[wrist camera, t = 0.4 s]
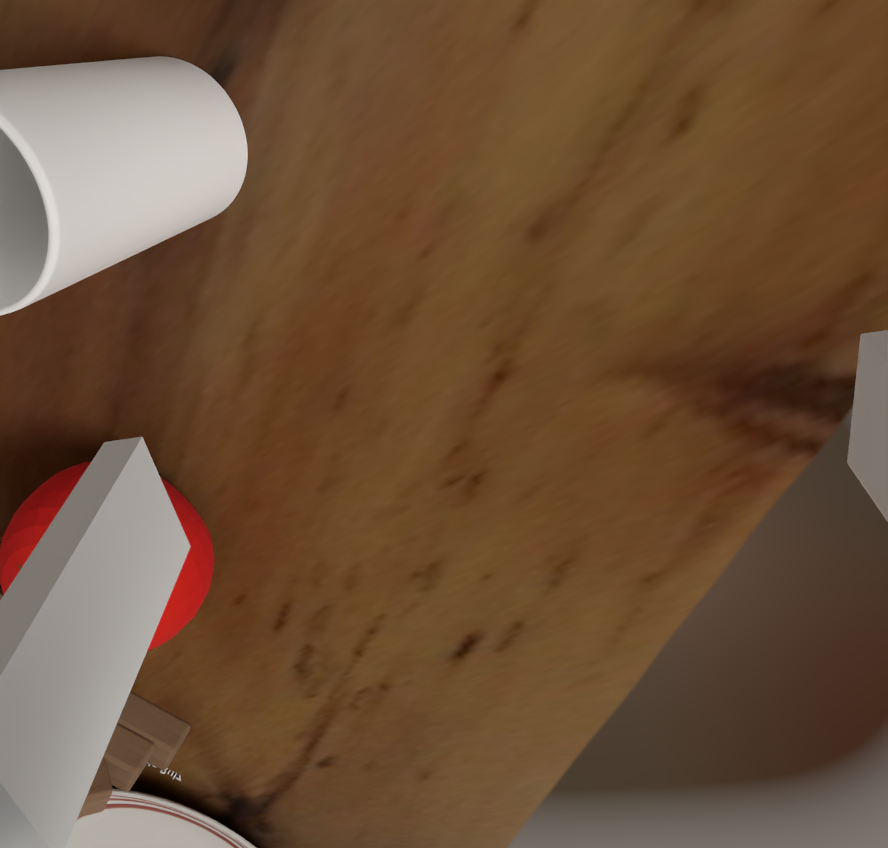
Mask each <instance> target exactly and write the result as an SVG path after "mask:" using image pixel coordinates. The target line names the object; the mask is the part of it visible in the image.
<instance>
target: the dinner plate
mask: <svg viewBox="0 0 888 848" xmlns="http://www.w3.org/2000/svg"><path fill="white" fill-rule="evenodd" d="M65 848H256V847H255V846H254V845H252V844H251V843H250V842H248V841H247V840H246V839H244V838H243V837H241V836H240V835H238V834H237V833H235V832H234V831H232V830H231V829H229V828H228V827H226V826H224V825H223V824H221V823H219V822H218V821H216V820H214V819H212V818H210V817H208V816H206V815H204V814H202V813H200V812H198V811H196V810H194V809H192V808H189V807H187V806H184V805H182V804H179V803H176V802H174V801H171V800H168V799H165V798H161V797H158V796H154V795H150V794H146V793H142V792H137V791H131V790H129V791H127V792H124V791H123V790H121V789H114V788H113V792H112V794H111V796H110V798H109V800H108V802H107V804H106V806H105V809H104V810H103V811H102V812H99V813H95V814H91V815H87V816H83V817H80V818H77V820H76V823H75V825H74V828H73V830H72V832H71V835H70V837H69V840H68V842H67V844H66V847H65Z"/></svg>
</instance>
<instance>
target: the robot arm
mask: <svg viewBox="0 0 888 848" xmlns="http://www.w3.org/2000/svg"><path fill="white" fill-rule="evenodd" d="M851 423H852V424H851V432H850V442H849V452H848V461H847V463H848V465H849V466H850V468H851V469H852V471H853V472H854V473H855V475H856V476H857V478H858V479H859V481H860V482H861V484H862V485H863V487H864V488H865V490H866V491H867V493H868V494H869V495H870V497H871V498H872V500H873V501H874V503H875V504H876V505H877V507H878V508H879V510H880V511H881V513H882V514H883V516H884V517H885V519H886V520H887V522H888V330H886V331H879V332H872V333H865V334H861V336H860V346H859V355H858V365H857V374H856V384H855V394H854V403H853V413H852V422H851ZM190 547H191V546H190V544H189V541H188V539H187V537H186V535H185V532H184V530H183V528H182V526H181V523H180V521H179V519H178V517H177V514H176V512H175V510H174V507H173V505H172V503H171V501H170V498H169V496H168V494H167V492H166V489H165V487H164V485H163V483H162V480H161V478H160V476H159V474H158V471H157V469H156V467H155V464H154V462H153V460H152V458H151V455H150V453H149V451H148V449H147V446H146V444H145V442H144V440H143V437H137V438H130V439H123V440H116V441H109V442H104V443H103V445H102V446H101V448H100V449H99V451H98V453H97V454H96V456H95V457H94V459H93V460H92V462H91V463H90V465H89V466H88V468H87V469H86V471H85V472H84V474H83V475H82V477H81V478H80V480H79V481H78V483H77V484H76V486H75V488H74V489H73V491H72V492H71V494H70V495H69V497H68V498H67V500H66V501H65V503H64V504H63V506H62V507H61V509H60V510H59V512H58V513H57V515H56V516H55V518H54V520H53V521H52V523H51V524H50V526H49V527H48V529H47V530H46V532H45V533H44V535H43V536H42V538H41V539H40V541H39V542H38V544H37V545H36V547H35V548H34V550H33V551H32V553H31V555H30V556H29V558H28V559H27V561H26V562H25V564H24V565H23V567H22V568H21V570H20V571H19V573H18V574H17V576H16V577H15V579H14V580H13V582H12V583H11V585H10V587H9V588H8V590H7V591H6V593H5V594H4V596H3V597H2V599H1V600H0V848H65V847H66V844H67V842H68V840H69V837H70V835H71V832H72V830H73V828H74V825H75V823H76V820H77V818H78V816H79V813H80V811H81V808H82V806H83V804H84V801H85V799H86V796H87V794H88V792H89V789H90V787H91V784H92V782H93V780H94V777H95V775H96V772H97V770H98V768H99V765H100V763H101V761H102V758H103V756H104V753H105V751H106V749H107V746H108V744H109V741H110V739H111V737H112V734H113V732H114V729H115V727H116V725H117V722H118V720H119V717H120V715H121V713H122V710H123V708H124V705H125V703H126V701H127V698H128V696H129V693H130V691H131V689H132V686H133V684H134V681H135V679H136V677H137V674H138V672H139V669H140V667H141V665H142V662H143V660H144V657H145V655H146V653H147V650H148V648H149V645H150V643H151V641H152V638H153V636H154V633H155V631H156V629H157V626H158V624H159V621H160V619H161V617H162V614H163V612H164V609H165V607H166V605H167V602H168V600H169V597H170V595H171V593H172V590H173V588H174V585H175V583H176V581H177V578H178V576H179V573H180V571H181V569H182V566H183V564H184V562H185V559H186V557H187V554H188V552H189V550H190Z"/></svg>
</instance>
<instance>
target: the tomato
mask: <svg viewBox="0 0 888 848" xmlns="http://www.w3.org/2000/svg"><path fill="white" fill-rule="evenodd" d="M90 463H91V462H84V463H81V464H78V465H75V466H72V467H69V468H67V469H65V470H63V471H61V472H58V473H56V474H55V475H54V476H52V477H51V478H49V479H48V480H47V481H45V482H44V483H43V484H42V485H41V486H39V487H38V488H37V489H36V490H35V491H34V492H33V493H32V494H31V495H30V496H29V497H28V498H27V499H26V500H25V501H24V502H23V503H22V505H21V506H20V507H19V508H18V510H17V511H16V512H15V513H14V515H13V517H12V519H11V521H10V523H9V525H8V527H7V529H6V532H5V534H4V536H3V538H2V541H1V547H0V584H1V588H2V591H3V594H5V593H6V591H7V590H8V588H9V587H10V585H11V583H12V582H13V580H14V579H15V577H16V576H17V574H18V573H19V571H20V570H21V568H22V567H23V565H24V564H25V562H26V561H27V559H28V558H29V556H30V555H31V553H32V551H33V550H34V548H35V547H36V545H37V544H38V542H39V541H40V539H41V538H42V536H43V535H44V533H45V532H46V530H47V529H48V527H49V526H50V524H51V523H52V521H53V520H54V518H55V516H56V515H57V513H58V512H59V510H60V509H61V507H62V506H63V504H64V503H65V501H66V500H67V498H68V497H69V495H70V494H71V492H72V491H73V489H74V488H75V486H76V484H77V483H78V481H79V480H80V478H81V477H82V475H83V474H84V472H85V471H86V469H87V468H88V466H89V465H90ZM160 478H161V480H162V483H163V485H164V487H165V489H166V492H167V494H168V496H169V498H170V501H171V503H172V505H173V507H174V510H175V512H176V514H177V517H178V519H179V521H180V523H181V526H182V528H183V530H184V532H185V535H186V537H187V539H188V541H189V544H190V546H191V547H190V550H189V552H188V554H187V557H186V559H185V562H184V564H183V566H182V569H181V571H180V573H179V576H178V578H177V581H176V583H175V585H174V588H173V590H172V593H171V595H170V597H169V600H168V602H167V605H166V607H165V609H164V612H163V614H162V617H161V619H160V621H159V624H158V626H157V629H156V631H155V633H154V636H153V638H152V641H151V643H150V645H149V648H148V650H147V651H149V650H151V649H153V648H155V647H158V646H160V645H162V644H163V643H165V642H166V641H168V640H169V639H171V638H172V637H174V636H175V635H176V634H177V633H178V632H179V631H180V630H181V629H182V628H183V627H184V626H185V625H186V624H187V623H188V622H189V621H190V620H191V619H192V618H193V617H194V616H195V615H196V613H197V611H198V610H199V608H200V606H201V604H202V602H203V600H204V598H205V596H206V594H207V592H208V590H209V588H210V584H211V580H212V576H213V568H214V551H213V544H212V539H211V534H210V532H209V530H208V529H207V527H206V525H205V523H204V521H203V519H202V518H201V517H200V516H199V514H198V513H197V512H196V510H195V509H194V508H193V506H192V505H191V504H190V503H189V501H188V500H187V499H186V498H185V497H184V496H183V495H182V494H181V493H180V492H179V491H178V490H177V489H176V488H175V487H174V486H173V485H171V484H170V483H169V482H167V481H166V480H164V479H163V478H162V477H160Z"/></svg>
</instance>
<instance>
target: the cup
mask: <svg viewBox="0 0 888 848" xmlns="http://www.w3.org/2000/svg"><path fill="white" fill-rule="evenodd" d="M247 160H248V150H247V141H246V135H245V131H244V127H243V124H242V121H241V118H240V116H239V114H238V111H237V109H236V108H235V106H234V104H233V102H232V101H231V99H230V97H229V96H228V95H227V93H226V92H225V91H224V89H223V88H222V87H221V86H220V85H219V84H218V83H217V82H216V81H215V80H214V79H213V78H212V77H211V76H210V75H208V74H207V73H206V72H204V71H203V70H201V69H200V68H198V67H197V66H195V65H193V64H191V63H188V62H186V61H183V60H180V59H177V58H172V57H163V56H156V57H144V58H133V59H121V60H110V61H98V62H87V63H75V64H64V65H52V66H41V67H29V68H18V69H6V70H0V315H4V314H7V313H11V312H14V311H16V310H19V309H21V308H23V307H26V306H28V305H30V304H32V303H34V302H36V301H38V300H40V299H43V298H45V297H47V296H49V295H51V294H53V293H55V292H57V291H59V290H62V289H64V288H66V287H68V286H70V285H72V284H74V283H76V282H78V281H80V280H83V279H85V278H87V277H89V276H91V275H93V274H95V273H97V272H99V271H101V270H103V269H106V268H108V267H110V266H112V265H114V264H116V263H118V262H120V261H122V260H124V259H127V258H129V257H131V256H133V255H135V254H137V253H139V252H141V251H143V250H145V249H147V248H150V247H152V246H154V245H156V244H158V243H160V242H162V241H164V240H166V239H168V238H171V237H173V236H175V235H177V234H179V233H181V232H183V231H185V230H187V229H189V228H192V227H194V226H196V225H198V224H200V223H202V222H204V221H206V220H208V219H210V218H212V217H214V216H216V215H218V214H219V213H221V212H222V211H223V210H225V209H226V208H227V207H228V206H229V205H230V204H231V203H232V201H233V200H234V199H235V197H236V196H237V194H238V192H239V191H240V188H241V186H242V184H243V181H244V178H245V174H246V169H247Z"/></svg>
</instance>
